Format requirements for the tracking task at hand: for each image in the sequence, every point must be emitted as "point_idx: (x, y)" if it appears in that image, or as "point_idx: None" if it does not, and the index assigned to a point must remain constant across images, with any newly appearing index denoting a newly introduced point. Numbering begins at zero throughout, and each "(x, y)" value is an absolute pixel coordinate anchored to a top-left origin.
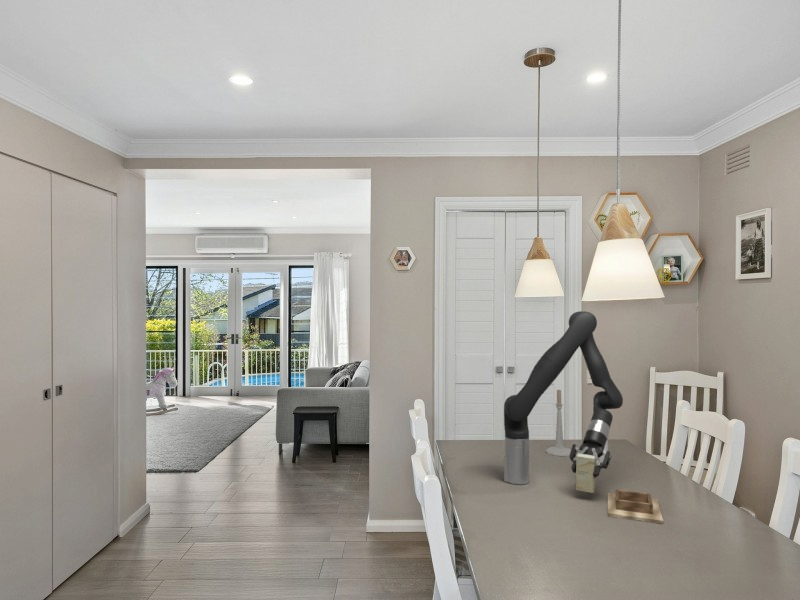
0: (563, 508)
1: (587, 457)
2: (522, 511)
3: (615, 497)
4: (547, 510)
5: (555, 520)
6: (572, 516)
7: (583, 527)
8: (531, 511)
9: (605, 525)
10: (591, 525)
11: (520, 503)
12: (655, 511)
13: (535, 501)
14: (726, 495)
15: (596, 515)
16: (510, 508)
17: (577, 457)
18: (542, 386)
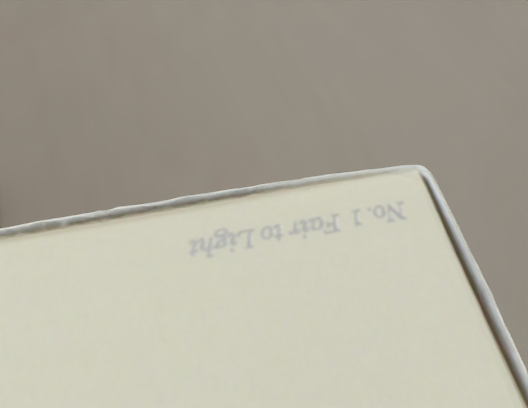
0: (289, 155)
1: (100, 256)
2: (434, 20)
3: None
4: (348, 85)
5: (255, 8)
6: (199, 83)
7: (111, 4)
8: (403, 38)
9: (4, 68)
10: (77, 37)
11: (517, 94)
12: None
13: (482, 163)
14: None
15: (70, 164)
16: (499, 22)
17: (388, 187)
18: None
